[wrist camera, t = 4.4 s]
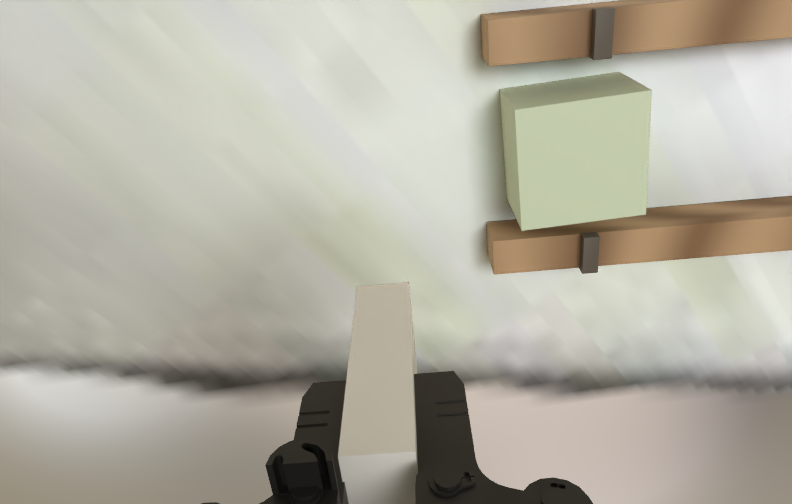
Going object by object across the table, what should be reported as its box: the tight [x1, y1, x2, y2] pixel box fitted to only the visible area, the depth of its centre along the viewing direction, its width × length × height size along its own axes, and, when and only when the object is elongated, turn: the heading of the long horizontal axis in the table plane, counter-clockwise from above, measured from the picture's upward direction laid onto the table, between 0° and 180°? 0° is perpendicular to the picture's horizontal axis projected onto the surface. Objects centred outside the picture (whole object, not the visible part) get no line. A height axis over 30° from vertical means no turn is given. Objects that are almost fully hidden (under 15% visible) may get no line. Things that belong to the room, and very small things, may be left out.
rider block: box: [500, 72, 652, 231], centre depth 30 cm, size 6×6×4 cm
